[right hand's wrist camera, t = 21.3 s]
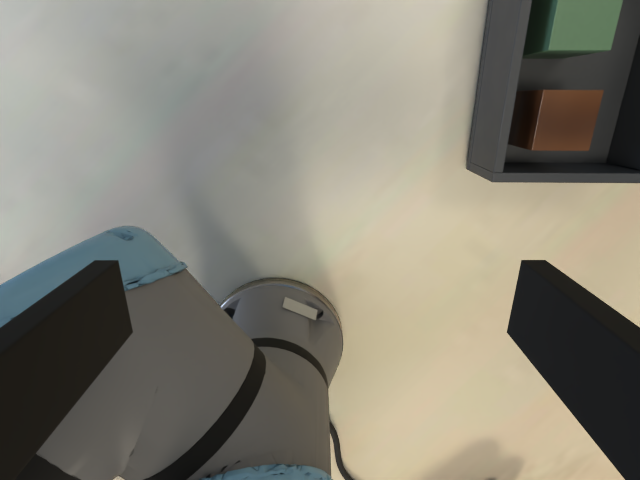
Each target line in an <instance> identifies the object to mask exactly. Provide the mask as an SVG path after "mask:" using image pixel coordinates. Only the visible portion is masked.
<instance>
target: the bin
mask: <svg viewBox="0 0 640 480" xmlns="http://www.w3.org/2000/svg"><path fill="white" fill-rule="evenodd" d="M531 4H532V0H490V1H489V8H488V15H487V23H486V30H485V37H484V45H483V52H482V59H481V67H480V74H479V81H478V89H477V96H476V103H475V111H474V118H473V125H472V133H471V140H470V148H469V155H468V162H467V170H469V171H471V172H473V173H475V174H477V175H479V176H481V177H483V178H485V179H487V180H489V181H491V182H555V183H640V0H623V3H622V7H621V11H620V15H619V19H618V23H617V27H616V31H615V35H614V39H613V43H612V47H611V50H610V51H604V52H599V53H593V54H587V55H581V56H576V57H570V58H564V59H522V57H523V51H524V45H525V39H526V34H527V28H528V22H529V16H530V10H531ZM526 90H604V92H603V96H602V100H601V104H600V108H599V112H598V116H597V120H596V124H595V128H594V132H593V136H592V140H591V144H590V148H589V151H532V150H528V149H524V148H520V147H516V146H512V145H508V139H509V133H510V127H511V122H512V116H513V110H514V104H515V98H516V92H517V91H526Z"/></svg>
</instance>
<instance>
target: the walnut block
mask: <svg viewBox="0 0 640 480" xmlns="http://www.w3.org/2000/svg"><path fill="white" fill-rule="evenodd" d="M603 92H604V90H526V91H517V92H516V98H515V104H514V110H513V116H512V122H511V127H510V133H509V139H508V145H512V146H516V147H520V148H524V149H528V150H532V151H589V148H590V144H591V140H592V136H593V132H594V128H595V124H596V120H597V116H598V112H599V108H600V104H601V100H602V96H603Z"/></svg>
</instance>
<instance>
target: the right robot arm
mask: <svg viewBox="0 0 640 480" xmlns="http://www.w3.org/2000/svg"><path fill="white" fill-rule="evenodd" d="M187 267H188V266H187V265H186V264H185V263H184V262H179V261H178V260H177V259H176V258H175V257H174V256H173V255H172V254H171V253H170V252H169V251H168V250H167V249H166V248H165V247H164V246H163V245H162V244H161V243H160V242H159V241H158V240H157V239H156V238H155V237H154V236H153V235H151V234H150V233H149V232H147V231H146V230H144V229H142V228H139V227H134V226H122V227H117V228H113V229H110V230H108V231H105V232H103V233H100V234H98V235H96V236H94V237H92V238H89V239H87V240H85V241H83V242H81V243H79V244H77V245H75V246H73V247H71V248H69V249H67V250H65V251H63V252H61V253H59V254H57V255H55V256H53V257H51V258H49V259H47V260H45V261H43V262H41V263H40V264H38V265H36V266H34V267H32V268H30V269H28V270H26V271H25V272H23V273H21V274H19V275H17V276H16V277H14V278H12V279H10V280H8V281H7V282H5V283H3V284H1V285H0V480H113V479H114V478H115V477H117V476H120V477H122V478H123V479H125V480H333V479H331V456H330V433H331V436H332V438H333V442H334V449H335V457H336V462H337V466H338V468H339V471H340V473H341V474H342V476H343V477H344V479H345V480H353V479H352V478H351V477H350V476H349V475H348V473H347V472H346V470H345V469H344V467H343V464H342V460H341V452H340V444H339V439H338V436H337V433H336V431H335V429H334V427H333V425H332V424H331V422H330V421H329V397H328V388H329V385H330V383H331V381H332V379H333V376H334V374H335V372H336V369H337V367H338V365H339V362H340V359H341V355H342V351H343V335H342V327H341V323H340V320H339V317H338V315H337V313H336V311H335V309H334V308H333V306H332V305H331V304H330V302H329V301H328V300H327V299H326V298H325V297H324V296H323V295H321V294H320V293H319V292H317V291H316V290H314V289H313V288H311V287H309V286H307V285H305V284H302V283H300V282H297V281H293V280H288V279H280V278H270V279H261V280H257V281H253V282H250V283H248V284H245V285H243V286H241V287H239V288H238V289H236V290H235V291H233V292H232V293H231V294H230V295H229V296H227V298H226V299H225V300H224V301H223V302H222V304H221V305H220V306H219V305H218V303H217V302H216V301H215V300H214V299H213V298H212V297H211V296H210V295H209V294H208V293H207V291H206V290H205V289H204V288H203V287H202V286H201V285H200V284H199V283H198V282H197V280H196V279H195V278H194V277H193V276H192V275H191V274H190V273H189V272H188V271H187V270H186V268H187ZM507 333H508V334H509V335H510V337H511V338H512V339H513V340H514V342H515V343H516V344H517V345H518V347H519V348H520V349H521V350H522V352H523V353H524V354H525V355H526V357H527V358H528V359H529V360H530V362H531V363H532V364H533V365H534V367H535V368H536V369H537V370H538V372H539V373H540V374H541V375H542V377H543V378H544V379H545V380H546V382H547V383H548V384H549V385H550V387H551V388H552V389H553V390H554V392H555V393H556V394H557V395H558V397H559V398H560V399H561V400H562V401H563V403H564V404H565V405H566V406H567V408H568V409H569V410H570V411H571V413H572V414H573V415H574V416H575V418H576V419H577V420H578V421H579V423H580V424H581V425H582V426H583V428H584V429H585V430H586V431H587V433H588V434H589V435H590V436H591V438H592V439H593V440H594V441H595V443H596V444H597V445H598V446H599V448H600V449H601V450H602V451H603V453H604V454H605V455H606V456H607V458H608V459H609V460H610V461H611V463H612V464H613V465H614V466H615V468H616V469H617V470H618V471H619V472H620V474H621V475H622V476H623V477H624V479H625V480H640V328H639V327H638V326H637V325H635V324H634V323H632V322H631V321H630V320H628V319H627V318H625V317H624V316H623V315H621V314H620V313H618V312H617V311H616V310H614V309H613V308H611V307H610V306H609V305H607V304H606V303H604V302H603V301H602V300H600V299H599V298H597V297H596V296H595V295H593V294H592V293H590V292H589V291H588V290H586V289H585V288H583V287H582V286H581V285H579V284H578V283H576V282H575V281H574V280H572V279H571V278H569V277H568V276H567V275H565V274H564V273H562V272H561V271H560V270H558V269H557V268H555V267H554V266H553V265H551V264H550V263H548V262H547V261H546V260H522V261H521V266H520V271H519V276H518V281H517V285H516V290H515V295H514V300H513V305H512V310H511V315H510V320H509V325H508V330H507Z"/></svg>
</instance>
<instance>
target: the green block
mask: <svg viewBox="0 0 640 480" xmlns="http://www.w3.org/2000/svg"><path fill="white" fill-rule="evenodd" d="M622 3H623V0H532V4H531V10H530V16H529V22H528V28H527V34H526V39H525V45H524V51H523V57H522V59H564V58H570V57H576V56H581V55H587V54H593V53H599V52H604V51H610V50H611V47H612V43H613V39H614V35H615V31H616V27H617V23H618V19H619V15H620V11H621V7H622Z"/></svg>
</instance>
